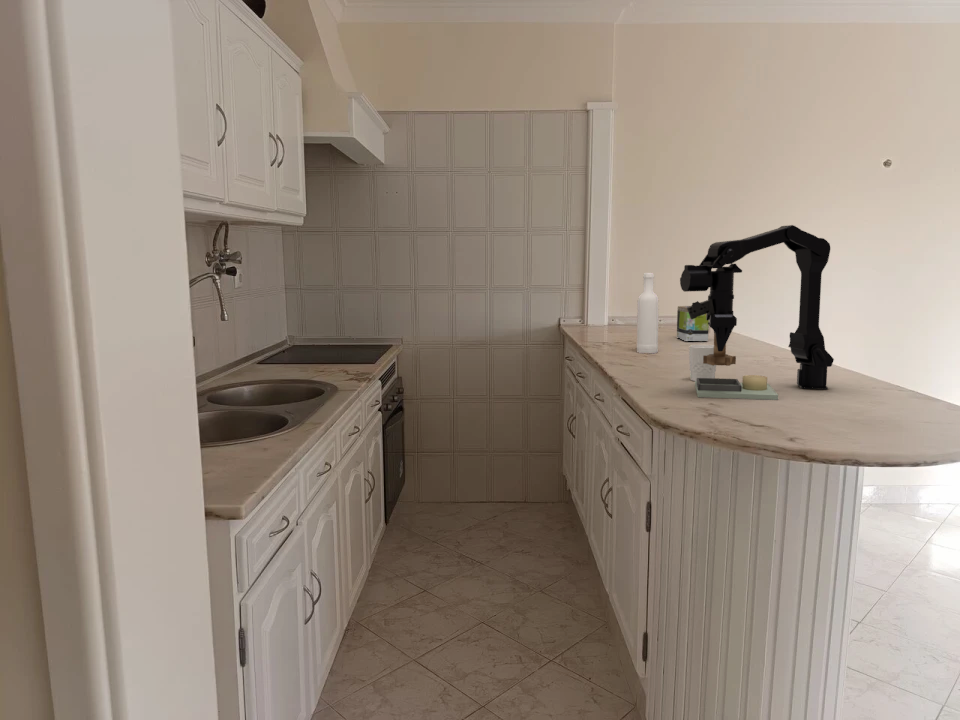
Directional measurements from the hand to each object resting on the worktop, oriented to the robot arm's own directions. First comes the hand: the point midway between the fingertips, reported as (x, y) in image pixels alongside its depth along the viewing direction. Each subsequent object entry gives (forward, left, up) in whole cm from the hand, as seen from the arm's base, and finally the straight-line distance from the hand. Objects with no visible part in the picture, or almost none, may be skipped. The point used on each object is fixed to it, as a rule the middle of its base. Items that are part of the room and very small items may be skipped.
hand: (719, 350), depth 180 cm
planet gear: (0, 0, -4) cm, 4 cm away
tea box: (+2, -121, -11) cm, 122 cm away
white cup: (+3, -18, -11) cm, 21 cm away
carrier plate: (-4, 0, -11) cm, 12 cm away
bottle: (+20, -78, -11) cm, 81 cm away
